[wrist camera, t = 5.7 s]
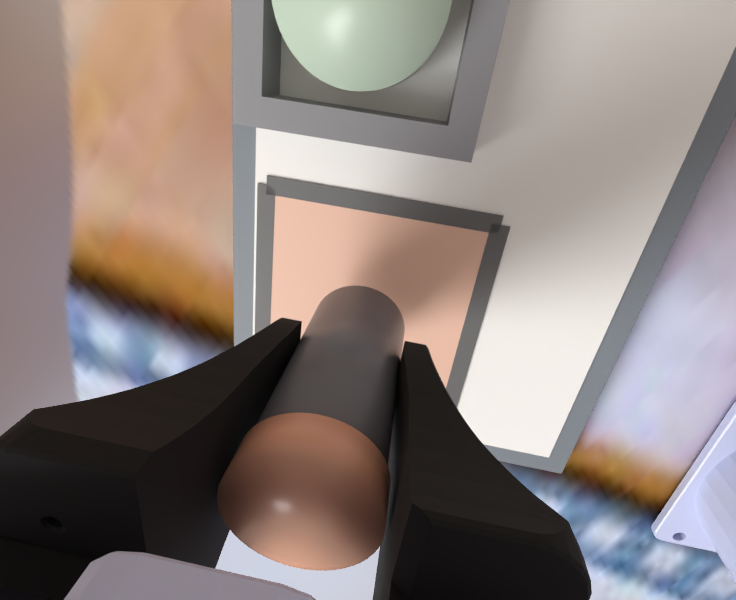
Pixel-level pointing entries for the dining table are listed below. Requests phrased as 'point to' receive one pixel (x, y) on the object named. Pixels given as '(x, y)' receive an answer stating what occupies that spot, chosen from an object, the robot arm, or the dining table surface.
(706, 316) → the dining table surface
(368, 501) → the marker
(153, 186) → the dining table surface
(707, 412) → the dining table surface
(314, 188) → the board
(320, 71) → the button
